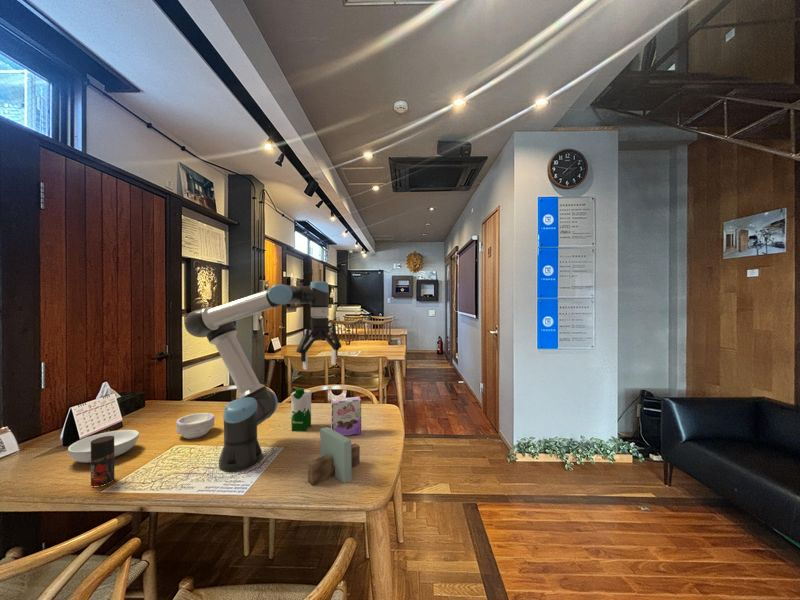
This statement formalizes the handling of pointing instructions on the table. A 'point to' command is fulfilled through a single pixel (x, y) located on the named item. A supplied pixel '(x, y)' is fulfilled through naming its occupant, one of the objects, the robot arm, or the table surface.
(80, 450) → the serving bowl
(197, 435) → the paper bowls
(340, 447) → the pale green slab
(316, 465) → the walnut board
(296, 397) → the milk carton
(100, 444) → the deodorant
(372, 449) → the table surface
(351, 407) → the candy box
